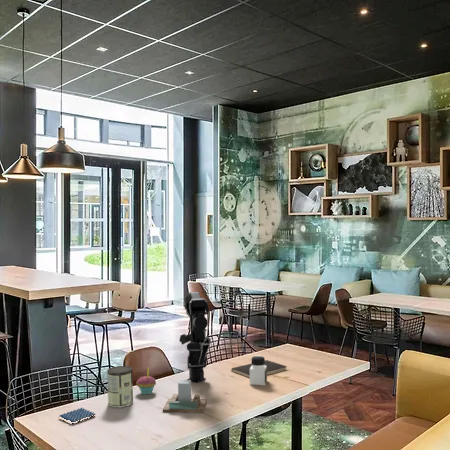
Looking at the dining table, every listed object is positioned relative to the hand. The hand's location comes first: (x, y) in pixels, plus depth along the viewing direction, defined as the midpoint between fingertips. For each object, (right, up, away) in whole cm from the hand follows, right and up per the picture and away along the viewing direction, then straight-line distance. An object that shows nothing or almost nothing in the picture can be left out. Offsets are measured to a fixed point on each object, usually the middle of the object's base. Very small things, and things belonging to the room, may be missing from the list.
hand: (199, 363), depth 212 cm
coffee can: (-32, -13, -12) cm, 37 cm away
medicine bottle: (+27, -12, +11) cm, 31 cm away
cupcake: (-23, -13, 0) cm, 27 cm away
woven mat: (-46, -14, -27) cm, 55 cm away
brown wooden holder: (-5, -12, -18) cm, 22 cm away
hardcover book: (+28, -13, +30) cm, 43 cm away
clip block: (-5, -11, -18) cm, 22 cm away
